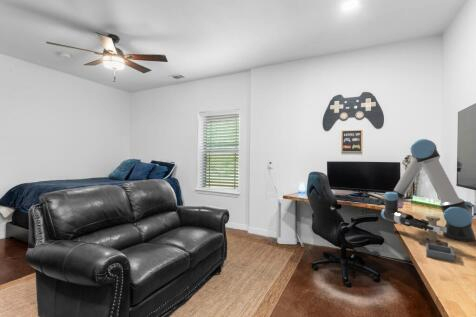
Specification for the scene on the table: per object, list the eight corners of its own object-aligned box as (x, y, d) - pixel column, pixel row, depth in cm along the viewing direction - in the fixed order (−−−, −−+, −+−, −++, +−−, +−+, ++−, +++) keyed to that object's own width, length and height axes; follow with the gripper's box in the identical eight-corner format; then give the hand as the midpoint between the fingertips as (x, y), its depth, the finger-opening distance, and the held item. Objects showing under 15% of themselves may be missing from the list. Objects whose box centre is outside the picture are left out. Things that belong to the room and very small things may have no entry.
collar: (432, 242, 140) (432, 237, 140) (447, 247, 132) (447, 242, 132) (419, 243, 138) (419, 238, 138) (434, 249, 130) (434, 244, 130)
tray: (426, 249, 130) (426, 243, 130) (451, 254, 123) (452, 247, 123) (426, 256, 121) (426, 250, 120) (454, 262, 114) (454, 255, 114)
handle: (425, 240, 139) (425, 215, 139) (440, 243, 135) (440, 216, 134) (425, 242, 135) (425, 216, 135) (440, 245, 131) (440, 218, 131)
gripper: (414, 223, 154) (454, 235, 131) (393, 225, 151) (430, 238, 128) (414, 212, 154) (454, 222, 131) (393, 214, 150) (430, 224, 128)
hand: (442, 230), depth 129 cm, fingers closed on handle, 3 cm apart
